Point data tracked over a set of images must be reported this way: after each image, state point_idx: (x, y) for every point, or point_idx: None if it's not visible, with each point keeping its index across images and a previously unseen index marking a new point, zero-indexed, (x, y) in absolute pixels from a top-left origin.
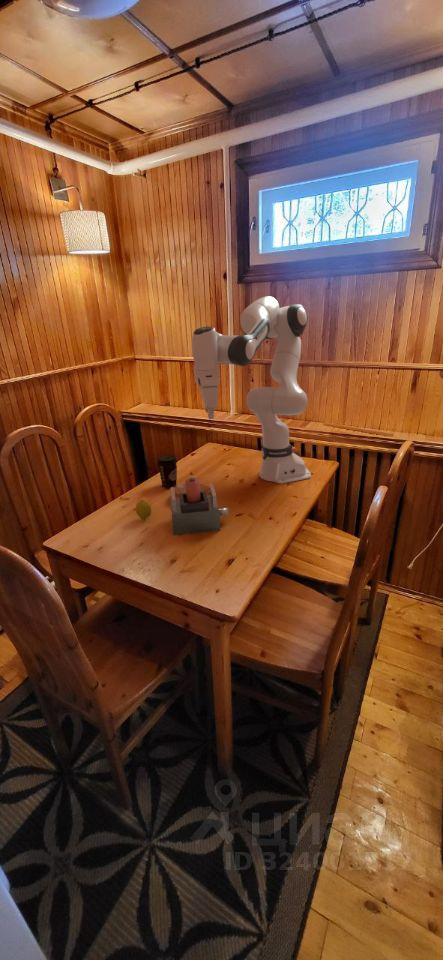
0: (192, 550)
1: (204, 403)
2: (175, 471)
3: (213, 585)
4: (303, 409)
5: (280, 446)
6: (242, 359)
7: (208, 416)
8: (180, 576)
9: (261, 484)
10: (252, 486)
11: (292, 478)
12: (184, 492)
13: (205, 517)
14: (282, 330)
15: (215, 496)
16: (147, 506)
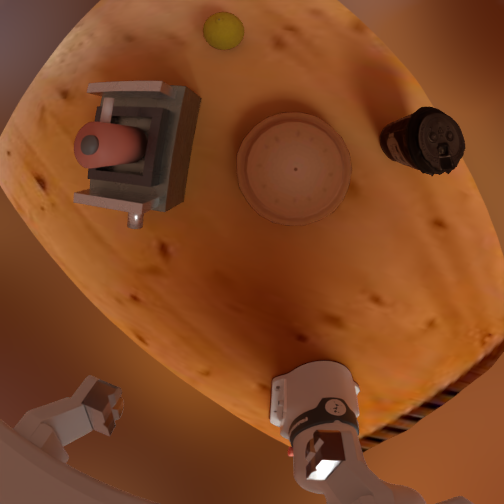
0: (76, 126)
1: (95, 491)
2: (402, 158)
3: (15, 149)
4: None
5: (293, 445)
6: None
7: (95, 391)
8: (36, 106)
9: (291, 350)
10: (291, 331)
11: (275, 401)
12: (276, 145)
13: None
14: None
15: (75, 199)
16: (205, 34)
